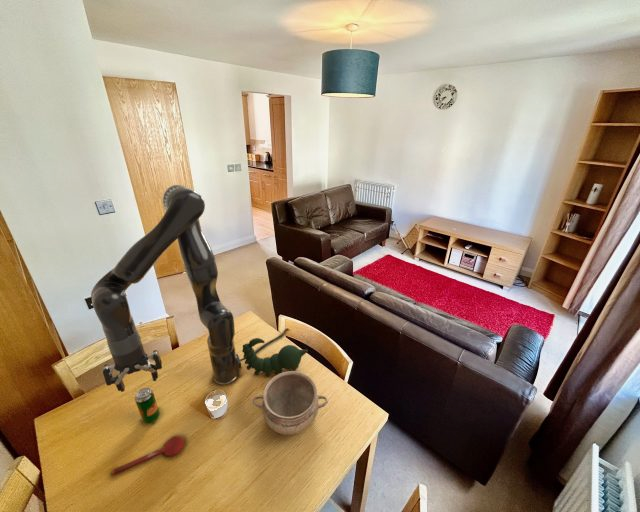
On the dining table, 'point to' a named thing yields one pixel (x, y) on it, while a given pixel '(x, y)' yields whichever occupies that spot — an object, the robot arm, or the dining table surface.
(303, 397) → the cooking pot
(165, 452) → the spoon
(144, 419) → the soda can
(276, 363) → the toy figurine
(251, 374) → the dining table surface
